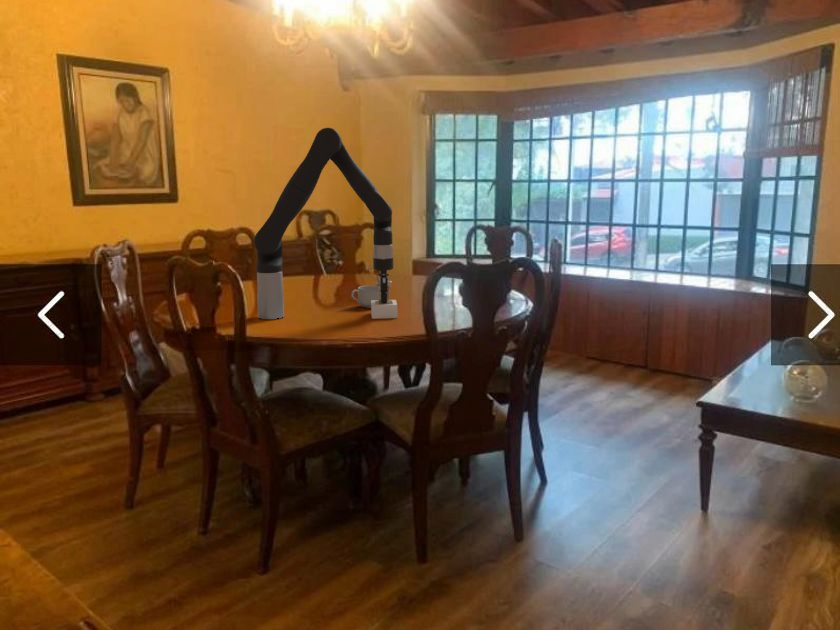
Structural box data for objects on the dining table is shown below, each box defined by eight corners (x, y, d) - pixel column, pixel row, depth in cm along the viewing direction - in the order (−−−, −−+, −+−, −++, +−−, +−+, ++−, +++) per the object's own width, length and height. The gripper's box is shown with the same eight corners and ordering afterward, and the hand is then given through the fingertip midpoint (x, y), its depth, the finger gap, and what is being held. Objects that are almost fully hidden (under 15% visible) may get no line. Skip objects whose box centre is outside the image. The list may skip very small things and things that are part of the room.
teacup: (380, 303, 279) (379, 284, 278) (388, 308, 269) (387, 288, 268) (347, 306, 274) (347, 286, 273) (354, 310, 264) (353, 290, 263)
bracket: (376, 314, 251) (375, 282, 249) (376, 312, 255) (375, 280, 253) (392, 313, 252) (391, 282, 250) (391, 311, 256) (391, 280, 254)
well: (371, 318, 248) (371, 305, 247) (371, 313, 259) (371, 300, 258) (397, 318, 249) (397, 304, 248) (395, 312, 260) (395, 299, 259)
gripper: (372, 254, 256) (373, 299, 259) (373, 258, 242) (374, 305, 245) (392, 254, 257) (392, 298, 260) (394, 258, 243) (394, 305, 246)
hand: (383, 301), depth 253 cm, fingers closed on bracket, 4 cm apart
